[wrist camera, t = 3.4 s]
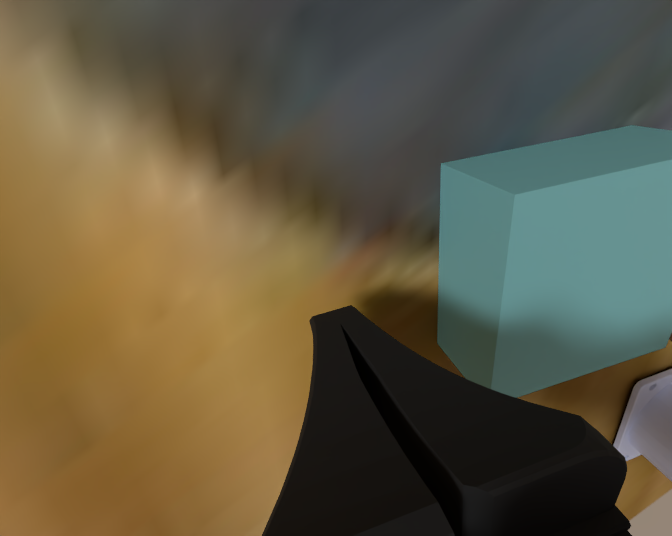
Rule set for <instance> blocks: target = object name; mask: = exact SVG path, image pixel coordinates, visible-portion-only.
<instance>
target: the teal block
mask: <svg viewBox="0 0 672 536" xmlns="http://www.w3.org/2000/svg"><path fill="white" fill-rule="evenodd" d="M671 333H672V131H670V130H663V129H655V128H648V127H641V126H634V125H632V126H627V127H622V128H617V129H612V130H607V131H602V132H597V133H592V134H587V135H582V136H577V137H572V138H567V139H562V140H557V141H552V142H547V143H542V144H537V145H532V146H527V147H521V148H516V149H511V150H506V151H501V152H496V153H491V154H486V155H481V156H476V157H471V158H466V159H461V160H456V161H451V162H446V163H441V190H440V237H439V284H438V332H437V344H438V345H439V346H440V347H441V349H442V350H443V351H444V352H445V354H446V355H447V356H448V357H449V359H450V360H451V361H452V362H453V363H454V365H455V366H456V367H457V368H458V370H459V371H460V372H461V373H462V375H463V376H464V377H465V378H466V379H467V380H470V381H472V382H475V383H477V384H480V385H482V386H484V387H487V388H489V389H492V390H495V391H497V392H500V393H503V394H506V395H509V396H512V397H515V398H517V397H520V396H523V395H526V394H529V393H532V392H535V391H538V390H541V389H544V388H547V387H550V386H553V385H556V384H559V383H562V382H565V381H568V380H571V379H574V378H577V377H579V376H582V375H585V374H588V373H591V372H594V371H597V370H600V369H603V368H606V367H609V366H612V365H615V364H618V363H621V362H624V361H627V360H630V359H633V358H636V357H639V356H642V355H645V354H648V353H650V352H653V351H656V350H659V349H662V348H665V347H666V345H667V343H668V340H669V338H670V335H671Z"/></svg>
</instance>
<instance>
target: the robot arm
mask: <svg viewBox="0 0 672 536" xmlns="http://www.w3.org/2000/svg"><path fill="white" fill-rule="evenodd" d="M310 324H311V329H312V333H313V369H312V377H311V385H310V392H309V398H308V403H307V408H306V413H305V418H304V422H303V425H302V429H301V433H300V437H299V441H298V444H297V447H296V450H295V454H294V457H293V459H292V462H291V465H290V468H289V471H288V474H287V476H286V479H285V482H284V485H283V487H282V490H281V493H280V495H279V497H278V500H277V502H276V504H275V507H274V509H273V511H272V514H271V516H270V518H269V520H268V523H267V525H266V527H265V530H264V532H263V534H262V536H632V535H631V534H630V533H629V532H628V529H629V528H630V526H631V525H630V523H629V520H628V519H627V518H626V517H625V516H624V515H623V514H622V513H621V511H620V510H619V509H618V508H617V507H616V506H615V503H616V500H617V498H618V495H619V493H620V490H621V488H622V485H623V483H624V480H625V477H626V472H627V464H626V461H628V460H630V459H632V458H635V457H637V456H640V455H643V456H644V457H645V458H646V459H647V460H648V461H650V462H651V463H652V464H653V465H654V466H655V467H656V468H657V469H658V470H660V471H661V472H662V473H663V474H664V475H665V476H666V477H667V478H668V479H669V480H671V481H672V369H669V370H666V371H663V372H661V373H658V374H655V375H653V376H650V377H647V378H645V379H642V380H640V381H638V382H637V383H636V384H635V386H634V387H633V390H632V393H631V396H630V399H629V402H628V405H627V407H626V410H625V413H624V416H623V419H622V422H621V425H620V427H619V430H618V433H617V436H616V439H615V442H614V444H613V445H612V444H611V443H610V442H609V441H608V440H607V439H606V438H605V437H604V436H603V435H601V434H600V433H599V432H598V431H597V430H596V429H595V428H594V427H592V426H591V425H590V424H589V423H588V422H586V421H585V420H584V419H583V418H582V417H581V416H579V415H575V414H571V413H567V412H563V411H560V410H556V409H552V408H548V407H545V406H541V405H537V404H534V403H530V402H527V401H524V400H521V399H518V398H515V397H512V396H509V395H506V394H503V393H500V392H497V391H495V390H492V389H489V388H487V387H484V386H482V385H480V384H477V383H475V382H472V381H470V380H467V379H465V378H463V377H460V376H458V375H456V374H454V373H452V372H450V371H448V370H446V369H444V368H442V367H440V366H438V365H436V364H434V363H432V362H431V361H429V360H427V359H425V358H424V357H422V356H420V355H419V354H417V353H415V352H414V351H412V350H411V349H409V348H407V347H406V346H404V345H403V344H401V343H400V342H398V341H397V340H396V339H394V338H393V337H391V336H390V335H389V334H387V333H386V332H384V331H383V330H382V329H380V328H379V327H378V326H376V325H375V324H374V323H373V322H371V321H370V320H369V319H368V318H366V317H365V316H364V315H363V314H362V313H360V312H359V311H358V310H357V309H356V308H355V307H353V306H351V305H350V306H347V307H343V308H340V309H337V310H333V311H330V312H326V313H323V314H319V315H316V316H313V317H312V318H311V319H310Z"/></svg>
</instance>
